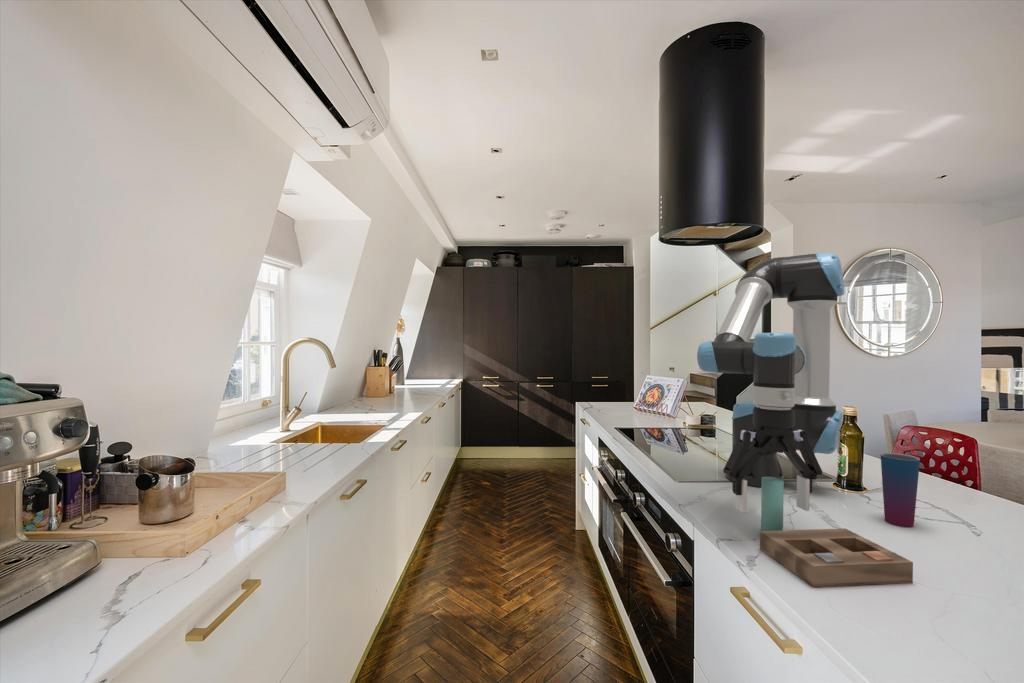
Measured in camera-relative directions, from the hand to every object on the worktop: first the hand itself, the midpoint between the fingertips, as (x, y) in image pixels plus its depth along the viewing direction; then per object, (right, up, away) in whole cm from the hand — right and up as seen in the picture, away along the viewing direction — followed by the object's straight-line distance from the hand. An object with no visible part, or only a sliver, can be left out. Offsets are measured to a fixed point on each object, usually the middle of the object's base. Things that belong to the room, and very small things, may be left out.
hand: (772, 509), depth 96 cm
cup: (+33, -6, +8) cm, 35 cm away
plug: (0, -6, 0) cm, 6 cm away
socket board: (+4, -6, -12) cm, 14 cm away
